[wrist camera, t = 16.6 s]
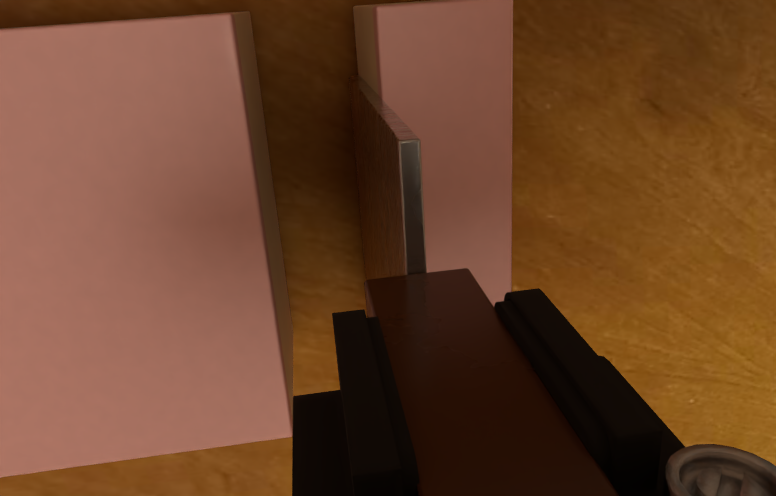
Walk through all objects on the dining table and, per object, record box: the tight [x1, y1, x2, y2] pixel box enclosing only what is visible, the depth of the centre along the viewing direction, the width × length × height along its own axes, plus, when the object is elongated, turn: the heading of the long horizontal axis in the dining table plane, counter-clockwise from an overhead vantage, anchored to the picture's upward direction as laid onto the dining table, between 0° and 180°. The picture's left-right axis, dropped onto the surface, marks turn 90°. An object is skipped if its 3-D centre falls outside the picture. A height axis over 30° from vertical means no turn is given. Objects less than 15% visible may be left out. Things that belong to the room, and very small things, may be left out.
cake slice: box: [353, 0, 513, 306], centre depth 21 cm, size 12×3×7 cm, turn 4°
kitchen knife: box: [349, 75, 619, 496], centre depth 14 cm, size 8×2×18 cm, turn 4°
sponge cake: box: [0, 11, 293, 477], centre depth 20 cm, size 12×10×7 cm
